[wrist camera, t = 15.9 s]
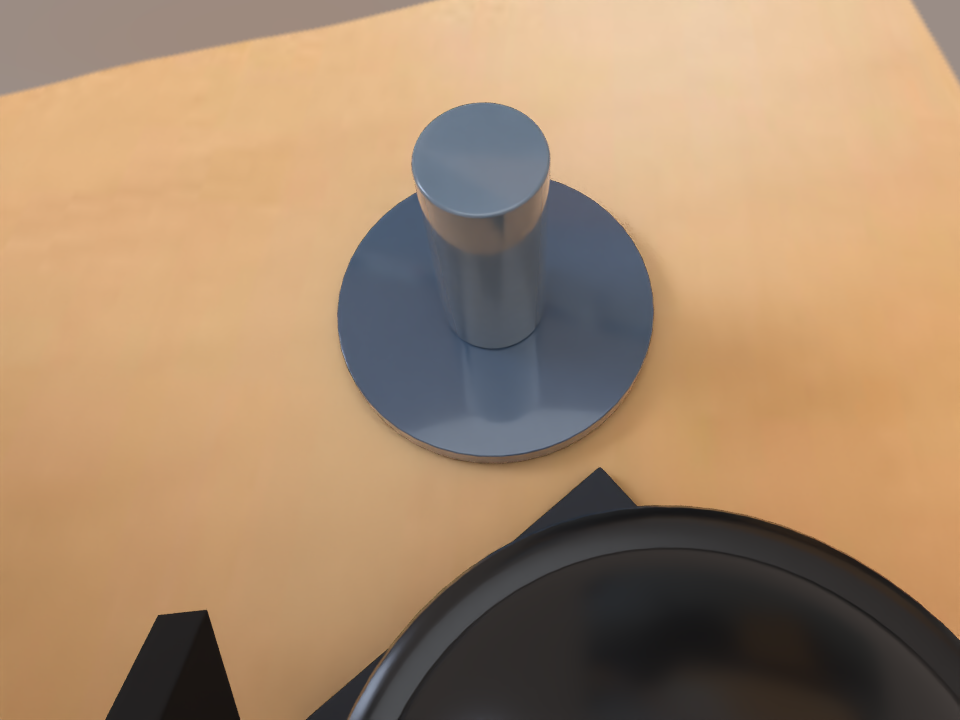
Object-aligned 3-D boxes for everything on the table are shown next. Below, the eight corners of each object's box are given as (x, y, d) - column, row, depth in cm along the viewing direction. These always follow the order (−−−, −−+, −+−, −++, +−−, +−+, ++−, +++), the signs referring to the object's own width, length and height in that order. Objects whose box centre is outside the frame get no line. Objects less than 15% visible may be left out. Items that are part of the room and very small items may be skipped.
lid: (283, 301, 26) (183, 144, 19) (511, 136, 28) (504, -67, 21) (474, 532, 23) (446, 456, 16) (716, 327, 25) (798, 170, 18)
